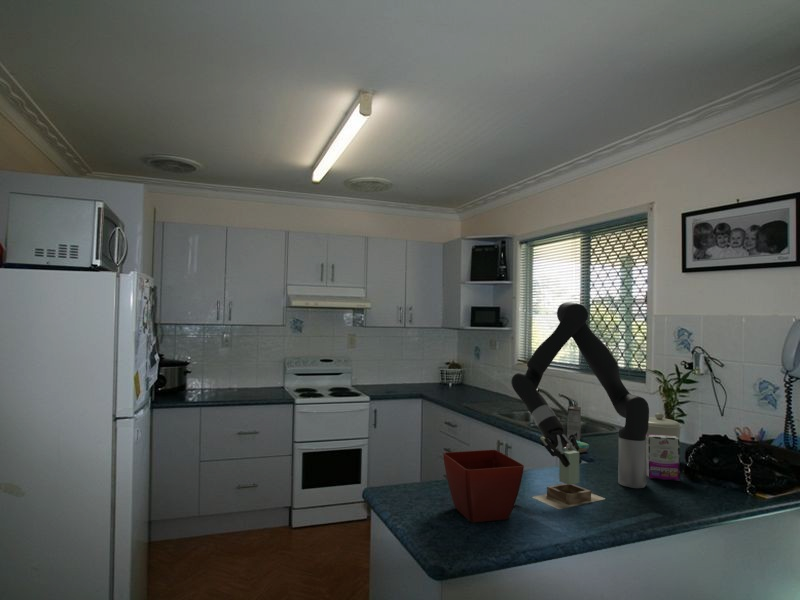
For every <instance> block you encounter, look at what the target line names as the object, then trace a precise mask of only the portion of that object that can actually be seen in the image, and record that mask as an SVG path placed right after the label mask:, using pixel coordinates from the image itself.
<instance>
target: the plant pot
mask: <svg viewBox="0 0 800 600" xmlns="http://www.w3.org/2000/svg"><path fill="white" fill-rule="evenodd" d="M442 458H443V464H444V469H445V470H444V471H445V475H446V480H447V483H448V484H447V485H448V487H449V492H450V495H451V498H452V502H453V505H454V508H455V509H456V510H457V511H458V512H459V513H460V514H461V515H462V516H463V517H464V518H465V519H466V520H468V521H469V522H470V523H472V524H473V523H474V524H475V523H484V522H485V523H486V522H493V521H501V520H508V519H510V517H511V514H512V513H513V509H514V506H515V503H516V501H517V498H518V495H519V492H520V489H521V484H522V481H523V480H522V479H523V474H524V469H525V466H524V464H522V463H521V462H519V461H517V460H515V459H514V458H512V457H509V456H508V455H506V454H504V453H502V452H501V451H499V450H497V449H483V450H481V449H480V450H467V451H466V450H465V451H449V452H447V451H446V452H443V453H442Z"/></svg>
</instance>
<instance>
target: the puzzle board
mask: <svg viewBox="0 0 800 600" xmlns="http://www.w3.org/2000/svg"><path fill="white" fill-rule="evenodd" d="M531 498H533V499H534V500H536V501H539V502H540V503H543V504H546V505H548V506H550V507H553V508H555V509H557V510H563V509H568V508H571V507H577V506H581V505H587V504H589V503H594V502H595V503H596V502H598V501H603V500H606V498H605V497H602V496H599V495H597V494H594V493H593V492H592V490H590V489H587V488H584V487H582V486H579V485H577V484H570V485H568V484H565V483H559V484H554V485H548V486H546V493H545V494H540V495H535V496H532V497H531Z"/></svg>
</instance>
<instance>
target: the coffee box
mask: <svg viewBox="0 0 800 600" xmlns="http://www.w3.org/2000/svg"><path fill="white" fill-rule="evenodd" d="M581 411H582V408H581V407H580V406H572V405H568V407H567V430H566V431H567V433H566V434H567V435H569V436H570V435H571V434H573V435H574V437H575V439H576V440H577V441H580V442H581V428H582V424H581V423H582V421H581V419H582V418H581V417H582V416H581V415H582V414H581Z"/></svg>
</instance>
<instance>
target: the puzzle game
mask: <svg viewBox="0 0 800 600" xmlns="http://www.w3.org/2000/svg"><path fill="white" fill-rule="evenodd" d="M539 439H540V441H541V442H542V441H543V440H544V439H545V438H544V436H540V438H539ZM576 441H577V440H576ZM577 444H578V446H579V448H580V449H579V450H578V451H577V452H579V454H580V453H585V452H586V451H587V450H588V449H589V448H590V444H588V443H586V442H583V441H581V440H580V441H577ZM567 446H568V444H567V445H566V447H567ZM574 447H575V446H574ZM569 449H571V448H569ZM562 450H564V449H563V448H562ZM571 450H572V449H571Z"/></svg>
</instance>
